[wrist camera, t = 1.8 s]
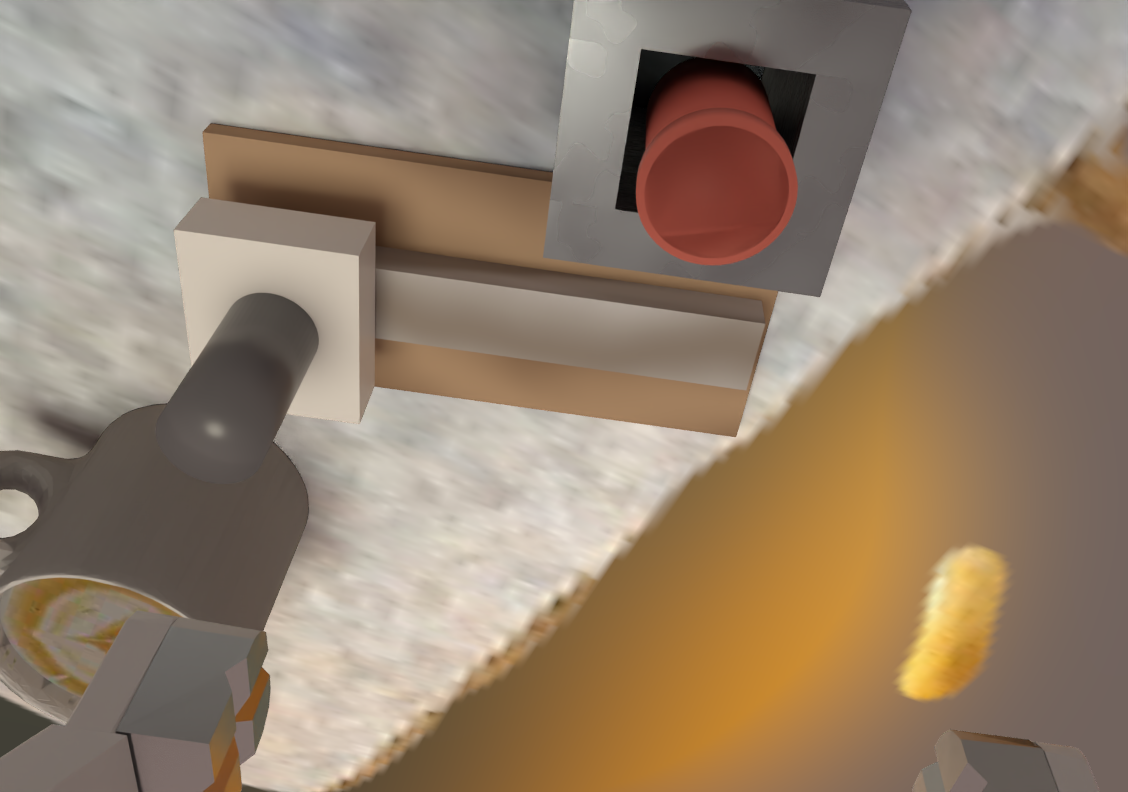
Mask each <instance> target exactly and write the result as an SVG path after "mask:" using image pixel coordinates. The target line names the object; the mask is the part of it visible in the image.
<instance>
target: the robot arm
mask: <svg viewBox="0 0 1128 792" xmlns="http://www.w3.org/2000/svg"><path fill="white" fill-rule="evenodd" d="M267 652H268V645H267V636H266V632H264V631H259V630H253V629H247V628H241V627H235V626H230V625H224V624H218V623H212V622H207V621H201V620H195V619H189V618H183V617H177V616H171V615H164V614H158V613H151V612H145V611H138V610H137V611H136V612H135V613H134V614H133V615H132V616H131V617H130V618H128V619H127V620H126V621H125V623H124V625H123V626H122V628H121V630H120V631H119V633H118V635H117V637H116V638H115V640H114V642H113V644H112V645H111V647H110V649H109V650H108V652H107V654H106V656H105V657H104V659H103V661H102V663H101V664H100V666H99V668H98V669H97V671H96V673H95V675H94V676H93V678H92V680H91V682H90V683H89V685H88V687H87V688H86V690H85V692H84V694H83V695H82V697H81V699H80V701H79V702H78V704H77V706H76V707H75V709H74V711H73V713H72V714H71V716H70V718H69V720H68V721H67V723H66V725H65V726H63V725H53V724H52V725H50V726H49V727H47V728H46V729H44V730H42V731H41V732H39V733H38V734H36V735H35V736H33V737H32V738H30V739H29V740H27V741H25V742H24V743H22V744H21V745H19V746H18V747H16V748H15V749H13V750H12V751H10V752H9V753H7V754H5V755H4V756H2V757H1V758H0V792H241V789H242V782H241V771H240V765H241V764H242V763H244V762H245V761H246V760H248V759H249V758H250V757H251V756H253V755H254V754H255V752H256V750H257V747H258V744H259V741H260V739H261V736H262V733H263V730H264V725H265V721H266V717H267V713H268V709H269V700H270V675H269V674H268V673H267V672H266V671H265V670H264V669H263V668H262V665H263V662H264V660H265V657H266V655H267ZM934 749H935V752H936V756H937V760H938V762H936V763H934V764H932V765H930V766H928V767H926V768H924V769H922V770H921V772H920V774H919V776H918V778H917V780H916V782H915V784H914V786H913V790H912V792H1100V790H1099V788H1098V785H1097V783H1096V780H1095V778H1094V776H1093V773H1092V771H1091V769H1090V766H1089V764H1088V761H1087V759H1086V757H1085V756H1084V754H1083V753H1082V752H1081V751H1080V750H1079V749H1078V748H1075V747H1069V746H1062V745H1055V744H1048V743H1041V742H1031V741H1030V740H1027V739H1019V738H1012V737H1004V736H997V735H988V734H981V733H973V732H966V731H958V730H949V731H947V732H945V733H943V734H942V735H941V737H940V738H939V740H938V742H937V743H936V745H935V747H934Z"/></svg>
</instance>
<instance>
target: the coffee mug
mask: <svg viewBox="0 0 1128 792" xmlns="http://www.w3.org/2000/svg"><path fill="white" fill-rule="evenodd" d="M166 405H167V404H160V405H151V406H147V407H143V408H139V409H136V410H133V411H130V412H128V413H126V414H124V415H122V416H121V417H119V418H118V419H117V420H115V421H114V422H112V423H111V424H110V425H109V426H108V427H107V428H106V430H105V431H104V432H103V433H102V435H101V436H100V438H99V440H98V441H97V443H96V444H95V446H94V447H93V449H92V450H91V451H90V452H89V453H88V454H86V455H85V456H83V457H80V458H74V459H64V458H58V457H53V456H48V455H42V454H37V453H31V452H25V451H18V450H15V451H0V490H3V489H16V490H18V491H20V492H23V493H25V494H28V495H29V496H30V497H31V498H32V499H33V500H34V501H35V503H36V505H37V508H38V513H39V516H38V519H37V520H36V521H35V522H34V523H33V524H32V525H31V526H30V527H29V528H27V529H26V530H25V531H23V532H21V533H19V534H17V535H15V536H12V537H6V538H0V681H1V682H3V683H4V684H5V685H6V686H7V687H8V688H9V689H10V690H11V691H12V692H14V693H15V694H16V695H17V696H19V697H20V698H21V699H23V700H24V701H25V702H27V703H28V704H30V705H32V706H33V707H35V708H37V709H38V710H40V711H42V712H43V713H45V714H47V715H49V716H50V717H53V718H55V719H57V720H59V721H61V722H63V723H65V724H66V723H67V721H68V720H69V718H70V716H71V714H72V713H73V711H74V709H75V707H76V706H77V704H78V702H79V701H80V699H81V697H82V695H83V694H84V692H85V690H86V688H87V687H88V685H89V683H90V682H91V680H92V678H93V676H94V675H95V673H96V671H97V669H98V668H99V666H100V664H101V663H102V661H103V659H104V657H105V656H106V654H107V652H108V650H109V649H110V647H111V645H112V644H113V642H114V640H115V638H116V637H117V635H118V633H119V631H120V630H121V628H122V626H123V625H124V623H125V621H126V620H127V619H128V618H130V617H131V616H132V615H133V614H134V613H135V612H136V611H137V610H138V611H145V612H151V613H158V614H164V615H171V616H177V617H183V618H189V619H195V620H201V621H207V622H212V623H218V624H224V625H230V626H235V627H241V628H247V629H253V630H259V631H263V630H264V627H265V625H266V622H267V620H268V617H269V615H270V613H271V610H272V608H273V605H274V603H275V600H276V598H277V595H278V593H279V590H280V588H281V585H282V583H283V580H284V578H285V575H286V573H287V570H288V568H289V566H290V563H291V561H292V558H293V556H294V553H295V551H296V548H297V546H298V543H299V541H300V538H301V536H302V533H303V531H304V528H305V526H306V523H307V519H308V512H309V507H308V497H307V492H306V488H305V485H304V483H303V481H302V479H301V477H300V475H299V473H298V471H297V469H296V467H295V466H294V465H293V464H292V462H291V461H290V460H289V459H288V457H287V456H286V455H285V454H284V452H283V451H282V450H281V449H280V448H279V447H278V446H277V445H276V444H274V443H273V442H272V444H271V446H270V448H269V450H268V452H267V454H266V456H265V458H264V460H263V462H262V464H261V466H260V468H259V470H258V471H257V472H256V473H255V474H254V475H253V476H251V477H250V478H248V479H246V480H244V481H241V482H238V483H233V484H215V483H209V482H205V481H202V480H199V479H196V478H194V477H192V476H190V475H188V474H186V473H184V472H183V471H181V470H180V469H178V468H177V467H176V466H174V465H173V464H172V463H171V462H170V461H169V460H168V459H167V458H166V456H165V455H164V454H163V452H162V451H161V449H160V447H159V445H158V442H157V439H156V433H155V429H156V423H157V420H158V418H159V416H160V414H161V413H162V411H163V410H164V408H165V407H166Z"/></svg>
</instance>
